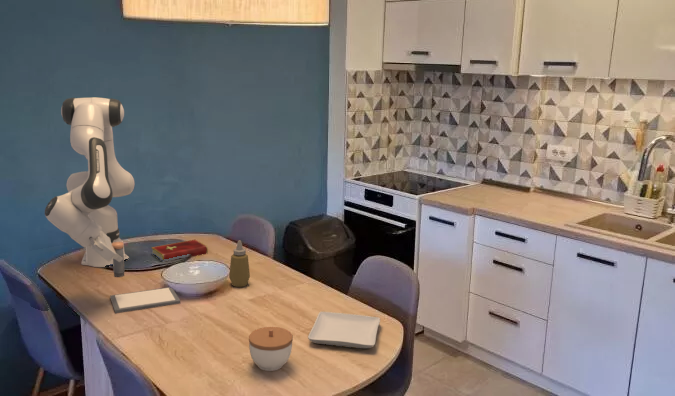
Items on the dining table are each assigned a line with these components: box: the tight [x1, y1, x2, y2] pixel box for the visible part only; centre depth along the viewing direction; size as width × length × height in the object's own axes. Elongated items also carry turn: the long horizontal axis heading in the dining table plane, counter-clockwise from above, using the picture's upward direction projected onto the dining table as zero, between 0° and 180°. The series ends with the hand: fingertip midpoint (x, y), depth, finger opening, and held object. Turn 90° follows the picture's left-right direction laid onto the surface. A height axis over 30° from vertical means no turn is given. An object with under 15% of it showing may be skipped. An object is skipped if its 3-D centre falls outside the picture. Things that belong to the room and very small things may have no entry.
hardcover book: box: [151, 239, 209, 260], centre depth 262 cm, size 12×21×4 cm, turn 130°
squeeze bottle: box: [228, 240, 251, 288], centre depth 229 cm, size 8×8×18 cm
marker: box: [112, 241, 125, 278], centre depth 208 cm, size 4×4×12 cm
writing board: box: [109, 286, 181, 314], centre depth 213 cm, size 14×22×1 cm, turn 117°
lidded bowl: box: [248, 326, 294, 372], centre depth 171 cm, size 13×13×11 cm
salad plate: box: [307, 311, 381, 349], centre depth 192 cm, size 21×21×3 cm
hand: (120, 257), depth 208 cm, fingers closed on marker, 4 cm apart
